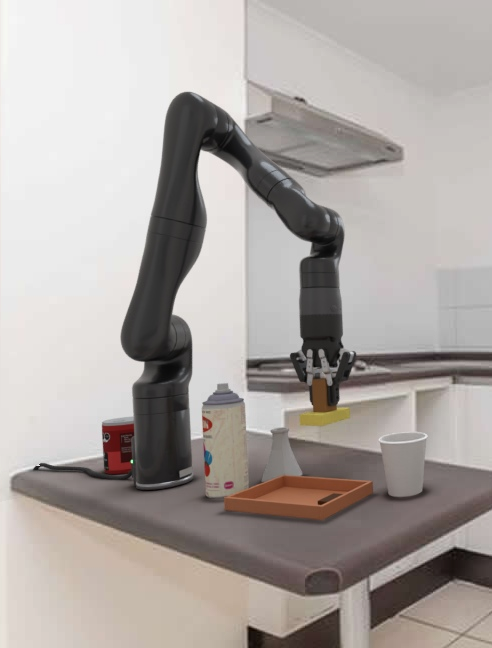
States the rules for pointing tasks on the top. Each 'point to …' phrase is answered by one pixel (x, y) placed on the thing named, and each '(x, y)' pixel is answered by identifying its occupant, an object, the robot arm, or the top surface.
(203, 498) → the top surface
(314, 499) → the orange tray
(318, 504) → the block
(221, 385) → the aerosol can
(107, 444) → the canned food
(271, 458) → the flask
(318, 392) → the brush
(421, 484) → the dixie cup
